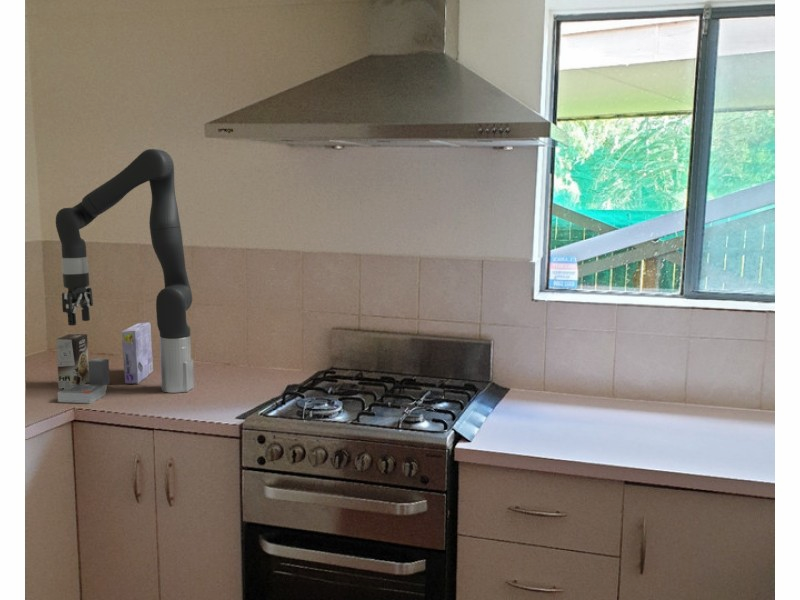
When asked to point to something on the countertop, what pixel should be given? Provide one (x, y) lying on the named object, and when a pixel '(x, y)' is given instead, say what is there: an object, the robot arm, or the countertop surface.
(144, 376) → the cake pan box
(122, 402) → the countertop surface
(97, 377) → the gray block
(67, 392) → the socket
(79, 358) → the coffee box
